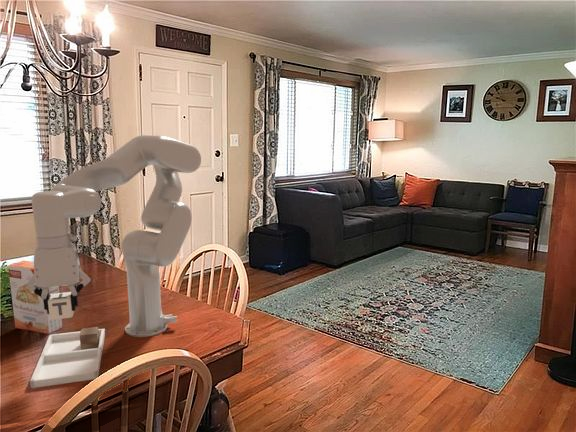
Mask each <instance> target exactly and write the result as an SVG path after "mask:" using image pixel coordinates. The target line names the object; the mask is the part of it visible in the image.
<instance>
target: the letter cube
mask: <svg viewBox="0 0 576 432" xmlns="http://www.w3.org/2000/svg"><path fill="white" fill-rule="evenodd" d="M70 296H71V291H65V292H60V293H55V294H51V295H50V298H49V300H48V307H49V315H50V320H55V319H62V320H63V319H70V318H73V316H74V312H75V311H72V306H71V297H70Z"/></svg>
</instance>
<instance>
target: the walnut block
mask: <svg viewBox="0 0 576 432" xmlns="http://www.w3.org/2000/svg"><path fill="white" fill-rule="evenodd" d="M99 329H100V328H99V326H93V327H84V328H81V330H80V331H81V332H80V346H81V350H86V349H94V348H98V346H99Z"/></svg>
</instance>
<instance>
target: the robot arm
mask: <svg viewBox="0 0 576 432" xmlns="http://www.w3.org/2000/svg"><path fill="white" fill-rule="evenodd" d="M201 164H202V155H201V152H200V151H199V149H198V148H197V147H195V146H194V145H192V144H189V143H187V142H183V141H180V140H177V139H174V138H172V137H167V136H163V135H149V134H148V135H145V134H142V135H137V136H135V137H133V138H132V139H130V140H129V141H127V142H126V143H125V144H123V145H122V146H121V147H120V148H118V149H117V150H116V151H114V152H113V153H112V154H110V155H109V156H107V157H105V158H104V159H102V160H99V161H97V162H95V163H92V164H90V165H88V166H85V167H83V168H80V169H77V170H76V171H73V172H72V173H70V174H69V175H67V176H66V177H64V178H63V179H62V180H60V181H58V183H57V184H55V185H54V186H53V187H52V188H51V190H44V191H40V192H36V193H34V194H33V195H32V197H31V205H32V206H31V208H32V214H33V223H34V231H35V232H34V233H35V239H36V246H35V247H34V252H33V253H34V254H33V262H34V276H33V277H32V278H31V280H30V281H29V282H28V284H27V285H26V288H27V289H29V290H31V291H33V292H34V293H36V294H37V295H39V296H40V297H41V298H42V299H43V302H44V309H45V310H47V314H49V307H48V300H49V298H50V295H49V293H48V292H49V288H50V287H59V288H60V287H65V286H66V287H67V286H68V288H69V292H71V296H70V297H71V306H72V311H74V312H75V311H76V309H77V307H78V306H79V298H78V297H79V296H78V294H79V293H80V292H81V290H83V288H85V286H87V285H88V284H89V283H90V282H91V277H89V275H87V274H86V272H84V271H83V270H82V268H81V265H80V257H79V254H78V249H77V247H76V244H75V243H73V242H75V241H78V235H77V234H75V235H74V234H72V233H71V227H70V221H69V220H70V219H74V218H76V219H77V218H88V217H91V216H93V215H96V214H97V212H98V211H99V210H100V209H101V206H102V198H101V195H100V194H99V193H98V192H97V191H100V190H104V189H110V188H115V187H119V186H123V185H125V184H127V183H128V182H130V181H131V180H132V179H133V178H135V176H137V175H138V174H139V173H141V171H142V170H143V171H144V169H146V168H147V167H148V166H151V165H152V166H153V169H154V172H155V178H156V179H155V185H154V187H153V190H152V192H151V193H150V196H149V197H148V200H147V202H146V204H145V206H144V208H143V209H142V213H141V217H140V221H141V223H142V225H143V226H144V227H145V228H148V229H149V231H148V230H145V229H144V230H140V229H136V230H131V231H130V232H128V233H127V234H126V235H125V236H124V237H123V239H122V242H121V252H122V258H123V260H124V264H125V269H126V279H127V281H126V282H127V299H128V312H129V315H128V316H129V322H128V324H127V325H126V326H125V327H124V332H125V333H126V335H128V336H130V337H134V338H135V337H136V338H146V337H152V336H156V335H160V334H161V333H165V331H166V330H168V324H170V323H171V324H172V323H178V316H177V315H175V316H173V314H172V313H171V314H166V315H165V314H163V310H162V296H161V295H162V294H161V276H160V275H161V274H160V269H159V267H161V268H162V267H164V268H165V267H168V266H170V265H171V264H173V263H174V262H175V261H176V259H177V257H178V255H179V253H180V251H181V249H182V247H183V244H184V243H185V240H186V238H187V235H188V233H189V230H190V228H191V225H192V218H193V217H192V211H191V209H190V207H189V206H188V205H187V204H186V203H184V202H182V201H181V202H180V198H181V197H182V196H181V195H182V193H183V185H182V182H181V179H180V177H179V173H182V174H183V173H184V174H190V173H195V172H197V171H198V169H199V168H200V166H201ZM150 230H154V231H150ZM155 231H159V232H155ZM80 279H82V281H80ZM34 283H35V284H34ZM41 288H43V289H41Z"/></svg>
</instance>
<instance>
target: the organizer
mask: <svg viewBox="0 0 576 432" xmlns="http://www.w3.org/2000/svg"><path fill="white" fill-rule="evenodd" d="M98 329H99V346H98V348H94V349H86V350H81V346H80V332H81V330H80V331H70V332H62V333H61V332H60V333H54V334H52V333H51V334H48V338H47V341H46V342H45V345H44V347H43V350H42V351H41V354H40V357H39V359H38V361H37V364H36V366H35V369H34V371H33V374H32V376H31V378H30V380H29V385H30V389H37V388H44V387H51V386H57V385H65V384H71V383H77V382H85V381H86V382H87V381H92V380H96V379H95V378H96V377H98V378H99V374H100V368H101V361H102V355H103V350H104V343H105V336H106V329H105V328H98Z"/></svg>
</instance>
